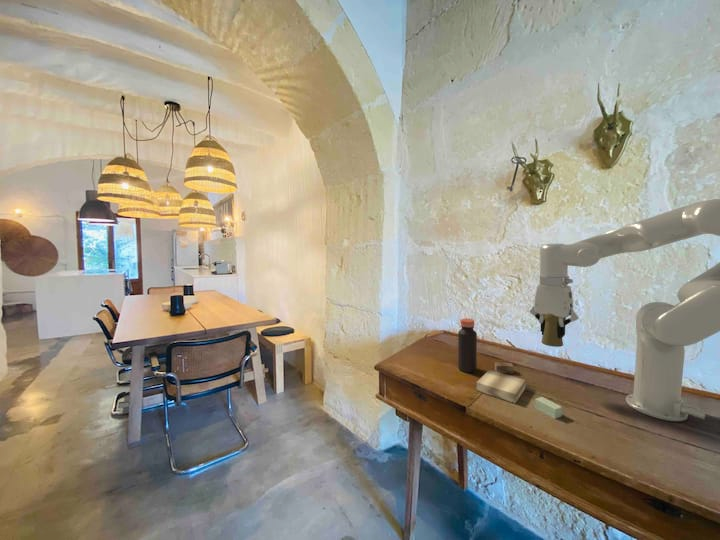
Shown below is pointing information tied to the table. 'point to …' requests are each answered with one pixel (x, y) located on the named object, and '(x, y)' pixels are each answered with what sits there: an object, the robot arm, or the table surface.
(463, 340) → the bottle
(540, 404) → the sage brick
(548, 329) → the cork
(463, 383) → the table surface
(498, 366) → the walnut brick
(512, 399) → the beech board
